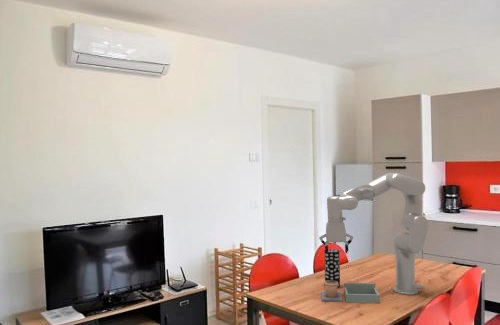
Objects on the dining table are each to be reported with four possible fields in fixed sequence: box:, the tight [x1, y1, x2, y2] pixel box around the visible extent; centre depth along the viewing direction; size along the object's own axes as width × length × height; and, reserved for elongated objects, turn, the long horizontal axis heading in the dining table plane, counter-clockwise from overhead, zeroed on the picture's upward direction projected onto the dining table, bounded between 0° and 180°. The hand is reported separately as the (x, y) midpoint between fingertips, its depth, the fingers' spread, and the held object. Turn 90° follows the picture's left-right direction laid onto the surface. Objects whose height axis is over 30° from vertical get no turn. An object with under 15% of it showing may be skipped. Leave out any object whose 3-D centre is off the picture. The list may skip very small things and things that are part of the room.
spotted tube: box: [324, 248, 341, 289], centre depth 230 cm, size 8×8×20 cm
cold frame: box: [343, 282, 381, 304], centre depth 209 cm, size 16×13×6 cm
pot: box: [323, 280, 338, 298], centre depth 211 cm, size 7×7×7 cm
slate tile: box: [320, 291, 343, 303], centre depth 211 cm, size 10×12×1 cm
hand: (336, 252), depth 213 cm, fingers open, 9 cm apart
